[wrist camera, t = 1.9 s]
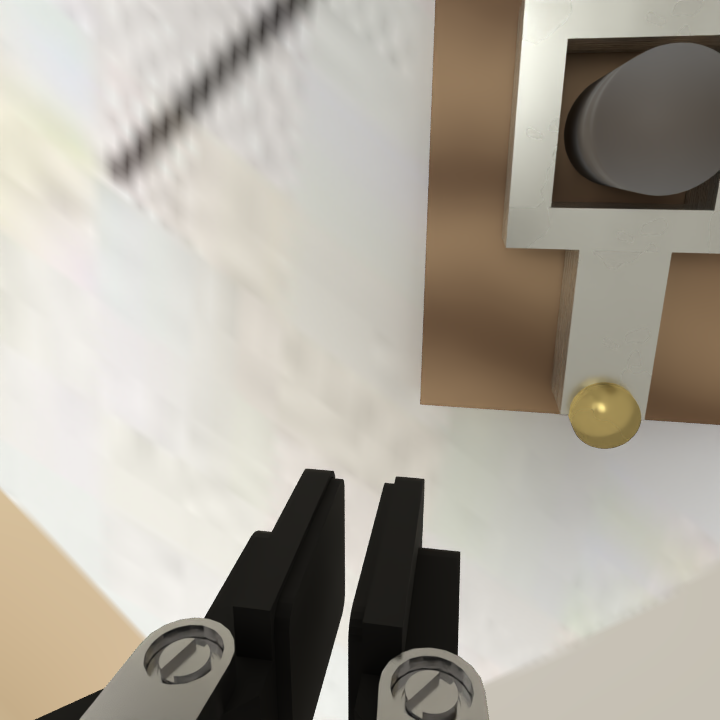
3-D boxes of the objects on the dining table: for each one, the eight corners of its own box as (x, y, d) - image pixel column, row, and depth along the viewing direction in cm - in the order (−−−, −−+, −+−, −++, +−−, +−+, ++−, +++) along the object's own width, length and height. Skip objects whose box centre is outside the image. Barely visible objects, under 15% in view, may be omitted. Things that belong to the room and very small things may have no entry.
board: (439, -51, 23) (426, -141, 16) (985, -78, 20) (1254, -200, 13) (422, 392, 29) (407, 467, 22) (847, 419, 26) (985, 516, 19)
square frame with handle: (519, 11, 22) (527, -16, 19) (762, 3, 21) (819, -27, 17) (489, 404, 27) (491, 440, 23) (685, 417, 26) (717, 457, 22)
